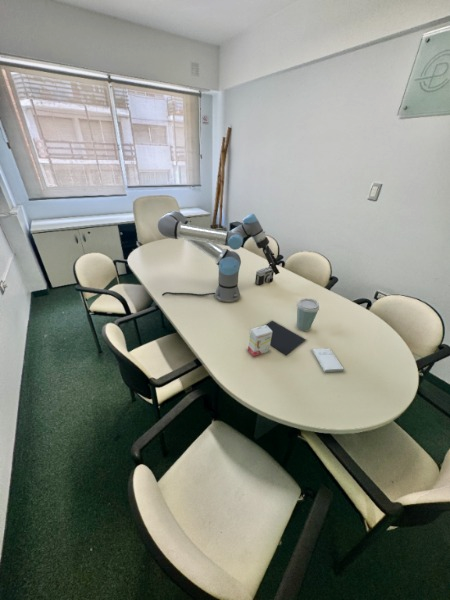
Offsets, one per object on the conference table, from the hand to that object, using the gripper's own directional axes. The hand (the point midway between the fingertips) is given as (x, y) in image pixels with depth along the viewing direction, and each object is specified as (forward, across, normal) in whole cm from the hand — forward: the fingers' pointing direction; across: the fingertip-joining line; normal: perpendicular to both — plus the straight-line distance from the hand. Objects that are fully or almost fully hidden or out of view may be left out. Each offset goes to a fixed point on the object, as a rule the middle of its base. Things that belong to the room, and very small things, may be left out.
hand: (276, 269), depth 149 cm
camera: (+10, +10, +13) cm, 19 cm away
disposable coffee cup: (+21, -36, -2) cm, 42 cm away
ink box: (+9, -58, +16) cm, 61 cm away
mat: (+14, -47, +8) cm, 49 cm away
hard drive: (+25, -59, -8) cm, 65 cm away
